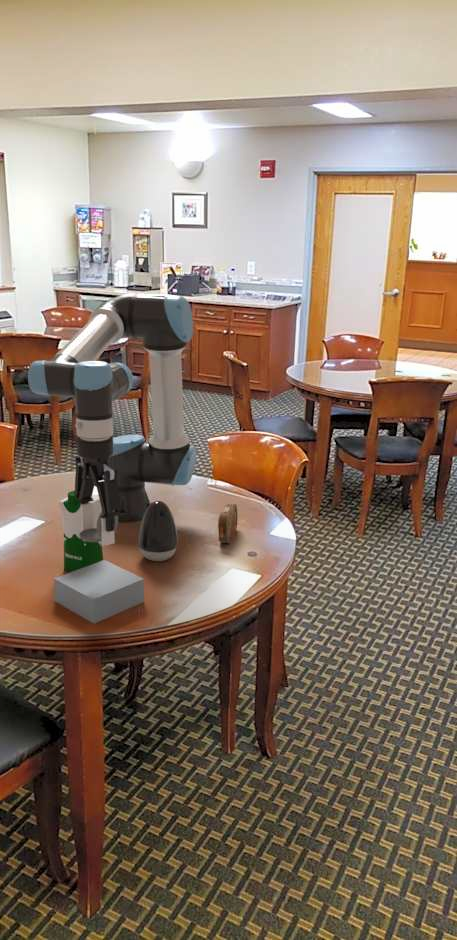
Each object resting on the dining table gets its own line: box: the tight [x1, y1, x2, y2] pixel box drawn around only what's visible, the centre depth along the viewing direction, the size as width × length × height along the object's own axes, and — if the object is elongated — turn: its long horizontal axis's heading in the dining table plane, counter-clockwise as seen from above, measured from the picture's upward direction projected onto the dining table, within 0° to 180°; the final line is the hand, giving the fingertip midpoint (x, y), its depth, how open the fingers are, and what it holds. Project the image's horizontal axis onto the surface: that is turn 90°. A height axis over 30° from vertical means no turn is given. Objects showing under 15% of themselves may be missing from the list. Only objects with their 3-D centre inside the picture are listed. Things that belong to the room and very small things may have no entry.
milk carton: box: [58, 490, 104, 572], centre depth 176 cm, size 9×9×20 cm
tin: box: [217, 503, 238, 544], centre depth 199 cm, size 15×3×8 cm, turn 168°
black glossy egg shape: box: [137, 500, 179, 562], centre depth 184 cm, size 10×10×15 cm
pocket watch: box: [79, 512, 119, 542], centre depth 156 cm, size 8×8×10 cm
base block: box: [53, 559, 145, 624], centre depth 162 cm, size 14×14×6 cm
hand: (97, 537), depth 158 cm, fingers closed on pocket watch, 8 cm apart
